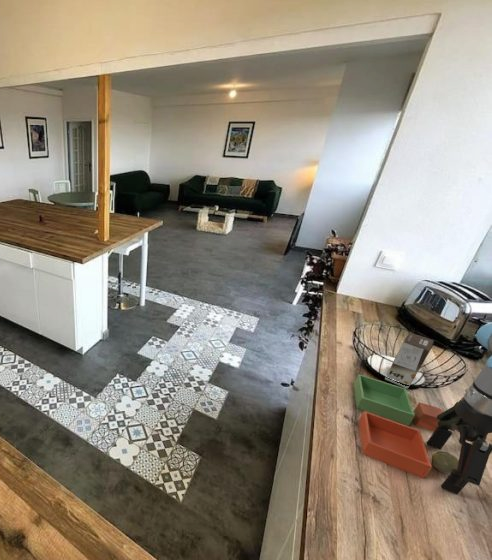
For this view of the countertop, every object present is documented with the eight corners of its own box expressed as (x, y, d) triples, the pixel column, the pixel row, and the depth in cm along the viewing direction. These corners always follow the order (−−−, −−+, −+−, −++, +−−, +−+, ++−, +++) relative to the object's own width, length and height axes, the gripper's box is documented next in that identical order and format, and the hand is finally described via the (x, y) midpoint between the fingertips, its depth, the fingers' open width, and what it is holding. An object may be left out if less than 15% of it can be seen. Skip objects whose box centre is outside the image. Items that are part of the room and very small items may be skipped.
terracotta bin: (412, 441, 86) (419, 430, 84) (423, 478, 77) (432, 467, 75) (358, 421, 92) (363, 410, 90) (362, 453, 83) (368, 442, 81)
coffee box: (408, 390, 103) (430, 351, 96) (384, 379, 108) (403, 342, 101) (413, 377, 109) (434, 340, 102) (390, 367, 113) (409, 331, 106)
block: (434, 421, 92) (442, 409, 90) (438, 433, 88) (447, 421, 86) (411, 413, 95) (419, 401, 92) (415, 425, 91) (423, 413, 89)
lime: (459, 476, 77) (469, 463, 75) (439, 476, 77) (449, 463, 75) (441, 459, 81) (451, 447, 79) (423, 459, 81) (432, 446, 79)
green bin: (400, 399, 100) (406, 388, 98) (408, 426, 91) (415, 415, 89) (353, 384, 106) (358, 374, 104) (356, 408, 97) (361, 397, 95)
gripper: (446, 369, 81) (410, 425, 91) (484, 441, 62) (434, 502, 72) (487, 380, 78) (445, 437, 87) (541, 460, 59) (480, 522, 68)
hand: (440, 466), depth 79 cm, fingers open, 13 cm apart
